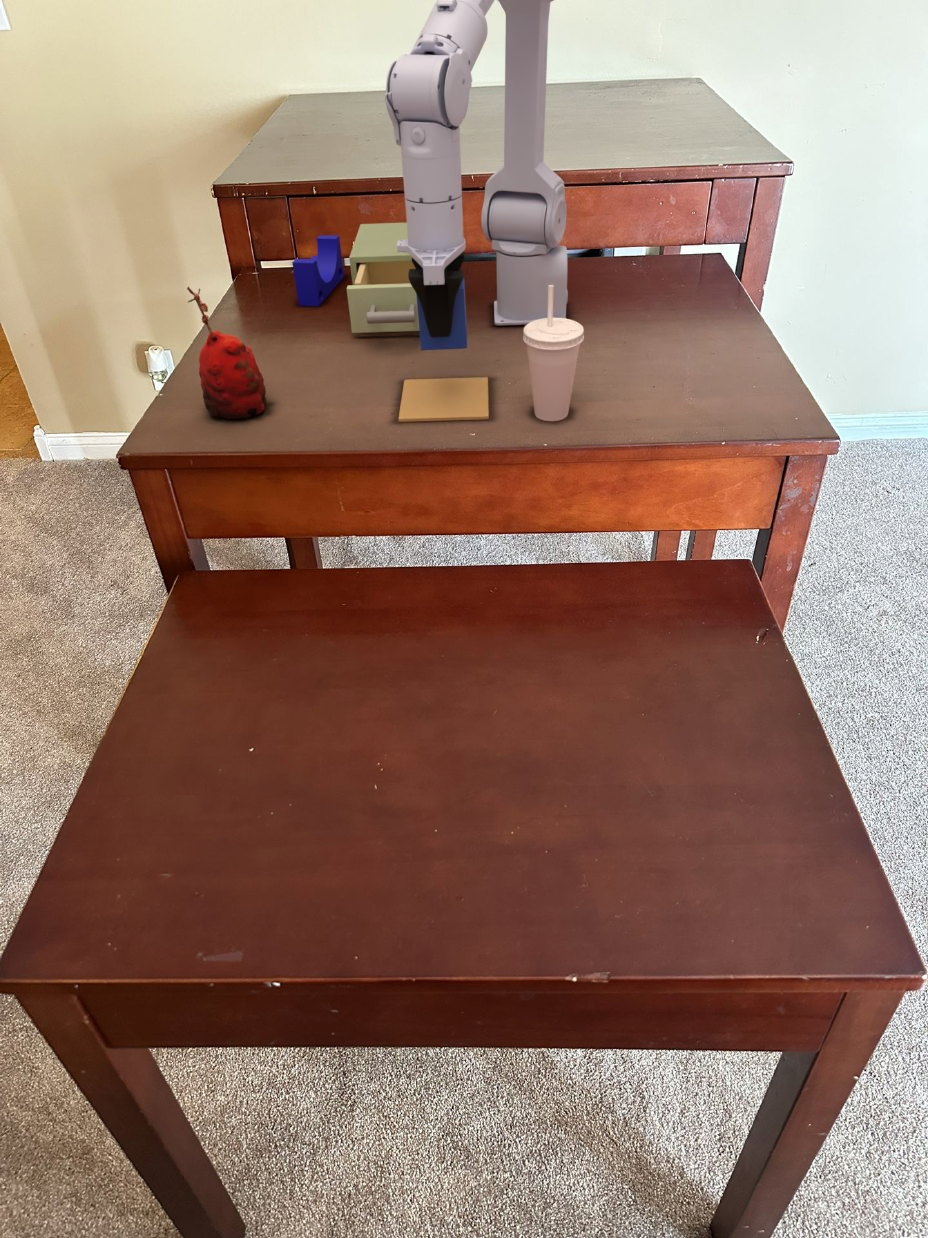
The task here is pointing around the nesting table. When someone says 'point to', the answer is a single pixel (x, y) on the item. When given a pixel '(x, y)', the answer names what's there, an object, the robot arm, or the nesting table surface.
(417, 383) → the mat
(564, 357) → the smoothie
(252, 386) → the red clay folk toy
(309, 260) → the cable clip
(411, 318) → the drawer
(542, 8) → the robot arm
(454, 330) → the blue rectangular block
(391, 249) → the cabinet
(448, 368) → the nesting table surface
